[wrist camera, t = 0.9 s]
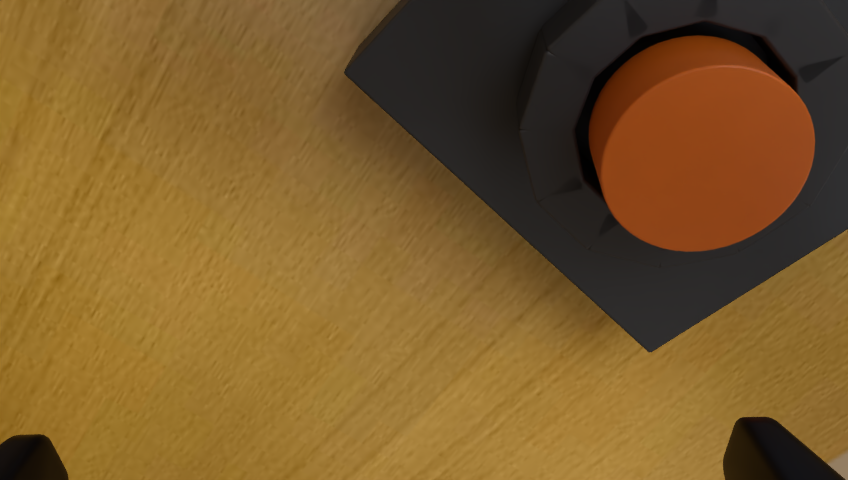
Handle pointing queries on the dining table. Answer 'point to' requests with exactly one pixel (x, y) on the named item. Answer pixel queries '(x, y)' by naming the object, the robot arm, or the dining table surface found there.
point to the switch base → (569, 130)
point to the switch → (699, 144)
